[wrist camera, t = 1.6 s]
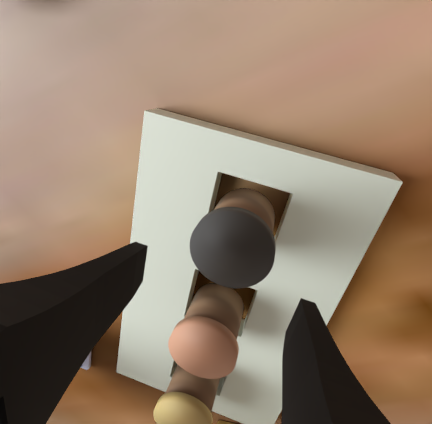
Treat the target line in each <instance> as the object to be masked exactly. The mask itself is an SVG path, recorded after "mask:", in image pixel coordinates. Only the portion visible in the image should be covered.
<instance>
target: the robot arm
mask: <svg viewBox="0 0 432 424" xmlns="http://www.w3.org/2000/svg"><path fill="white" fill-rule="evenodd" d="M147 248H148V246H147V245H144V244H141V243H138V242H133V243H131V244H129V245H126V246H124V247H122V248H120V249H117V250H115V251H113V252H111V253H108V254H106V255H104V256H101V257H99V258H97V259H94V260H91V261H89V262H86V263H83V264H81V265H78V266H75V267H72V268H69V269H66V270H63V271H59V272H56V273H52V274H48V275H44V276H40V277H35V278H31V279H26V280H21V281H16V282H10V283H3V284H0V424H46V423H47V421H48V419H49V417H50V416H51V414H52V412H53V411H54V409H55V407H56V406H57V404H58V402H59V401H60V399H61V397H62V396H63V394H64V392H65V391H66V389H67V388H68V386H69V384H70V383H71V381H72V380H73V378H74V376H75V375H76V373H77V372H78V370H79V369H80V367H81V368H83V369H86V370H88V369H89V368H90V366H91V350H92V349H93V347H94V346H95V345H96V343H97V342H98V341H99V339H100V338H101V337H102V336H103V334H104V333H105V332H106V331H107V329H108V328H109V327H110V326H111V324H112V323H113V322H114V321H115V320H116V318H117V317H118V316H119V315H120V313H121V312H122V311H123V310H124V308H125V307H126V306H127V305H128V303H129V302H130V301H131V300H132V298H133V297H134V295H135V293H136V292H137V290H138V288H139V287H140V285H141V283H142V282H143V277H144V270H145V262H146V255H147ZM281 424H390V422H389V421H388V420H387V419H386V417H385V416H384V415H383V414H382V412H381V411H380V410H379V409H378V407H377V406H376V405H375V404H374V402H373V401H372V400H371V398H370V397H369V396H368V394H367V393H366V392H365V390H364V389H363V387H362V386H361V384H360V383H359V382H358V380H357V379H356V377H355V376H354V374H353V373H352V371H351V370H350V368H349V366H348V365H347V363H346V361H345V360H344V358H343V356H342V355H341V353H340V351H339V349H338V347H337V346H336V344H335V342H334V340H333V338H332V336H331V334H330V332H329V330H328V328H327V326H326V324H325V322H324V320H323V318H322V316H321V313H320V311H319V309H318V307H317V305H316V303H314V302H311V301H308V300H305V299H302V298H301V299H300V301H299V304H298V306H297V308H296V310H295V312H294V315H293V317H292V319H291V321H290V323H289V326H288V328H287V330H286V332H285V339H284V346H283V355H282V422H281Z"/></svg>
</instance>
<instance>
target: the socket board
mask: <svg viewBox="0 0 432 424" xmlns="http://www.w3.org/2000/svg"><path fill="white" fill-rule="evenodd" d="M222 173H225V174H228V175H231V176H235V177H238V178H242V179H245V180H248V181H252V182H255V183H258V184H262V185H265V186H269V187H272V188H275V189H279V190H282V191H286V192H289V193H290V196H289V199H288V201H287V204H286V207H285V210H284V212H283V215H282V218H281V221H280V224H279V226H278V229H277V232H276V235H275V237H274V238H275V243H276V251H275V259H274V264H273V267H272V269H271V271H270V273H269V274H268V275H267V276H266V277H265V278H264V279H263V280H262V281H261V282H259V283H257V284H255V285H253V286H250V287H249V288H252V289H255V293H254V296H253V299H252V302H251V304H250V307H249V310H248V313H247V315H246V318H245V320H244V319H242V320H241V324H240V328H239V332H238V337H237V342H238V347H239V352H238V357H237V362H236V366H235V368H234V370H233V371H232V372H231V373H230V374H228V375H227V376H225V377H222V378H220V381H219V385H218V389H217V392H216V396H215V400H214V404H213V408H212V411H213V412H216V413H218V414H220V415H223V416H225V417H228V418H230V419H233V420H235V421H238V422H240V423H243V424H274V423H275V422H276V420H277V418H278V416H279V414H280V412H281V410H282V355H283V346H284V339H285V332H286V330H287V328H288V326H289V323H290V321H291V319H292V317H293V315H294V312H295V310H296V308H297V306H298V304H299V301H300V299H301V298H302V299H305V300H308V301H311V302H314V303H316V305H317V307H318V309H319V311H320V313H321V316H322V318H323V320H324V322H325V324H326V326H327V324H328V322H329V320H330V318H331V316H332V314H333V313H334V311H335V309H336V307H337V305H338V303H339V301H340V299H341V298H342V296H343V294H344V292H345V290H346V288H347V286H348V284H349V282H350V281H351V279H352V277H353V275H354V273H355V271H356V269H357V267H358V266H359V264H360V262H361V260H362V258H363V256H364V254H365V252H366V251H367V249H368V247H369V245H370V243H371V241H372V239H373V237H374V236H375V234H376V232H377V230H378V228H379V226H380V224H381V222H382V220H383V219H384V217H385V215H386V213H387V211H388V209H389V207H390V205H391V204H392V202H393V200H394V198H395V196H396V194H397V192H398V190H399V189H400V187H401V185H402V183H403V182H402V181H401V180H400V179H399V178H398V177H397V176H396V175H395V174H394V173H392V172H388V171H385V170H381V169H377V168H374V167H370V166H366V165H363V164H359V163H355V162H352V161H348V160H345V159H341V158H337V157H334V156H330V155H326V154H323V153H319V152H315V151H312V150H308V149H304V148H301V147H297V146H293V145H290V144H286V143H282V142H279V141H275V140H271V139H268V138H264V137H261V136H257V135H253V134H250V133H246V132H242V131H239V130H235V129H231V128H228V127H224V126H220V125H217V124H213V123H209V122H206V121H202V120H198V119H195V118H191V117H187V116H184V115H180V114H177V113H173V112H169V111H166V110H162V109H158V108H157V109H151V110H145V111H144V120H143V129H142V138H141V148H140V157H139V166H138V175H137V185H136V194H135V203H134V212H133V222H132V231H131V240H130V244H131V243H133V242H138V243H141V244H144V245H147V246H148V248H147V255H146V262H145V270H144V277H143V282H142V283H141V285H140V287H139V288H138V290H137V292H136V293H135V295H134V297H133V298H132V300H131V301H130V302H129V303H128V305H127V306H126V307H125V308H124V310H123V314H122V324H121V333H120V342H119V351H118V361H117V370H116V372H117V373H120V374H122V375H124V376H127V377H129V378H132V379H134V380H137V381H139V382H142V383H144V384H147V385H149V386H152V387H154V388H156V389H159V390H161V391H164V392H166V391H167V388H168V386H169V383H170V381H171V379H172V376H173V374H174V372H175V369H176V367H177V365H178V364H177V363H176V362H175V361H174V359H173V358H172V356H171V354H170V351H169V347H168V342H169V338H170V336H171V334H172V332H173V330H174V328H175V326H176V325H177V323H178V322H180V321H181V320H183V319H184V317H185V315H186V313H187V311H188V309H189V307H190V305H191V303H192V297H193V293H194V289H195V285H196V280H197V276H198V272H199V270H198V269H197V267H196V266H195V264H194V262H193V260H192V257H191V254H190V238H191V235H192V232H193V230H194V229H195V227H196V226H197V224H198V223H199V222H200V220H201V219H202V218H203V217H204V216H205V215H206V214H207V213H209V212H211V211H213V210H214V206H215V201H216V197H217V193H218V189H219V185H220V181H221V177H222Z"/></svg>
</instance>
